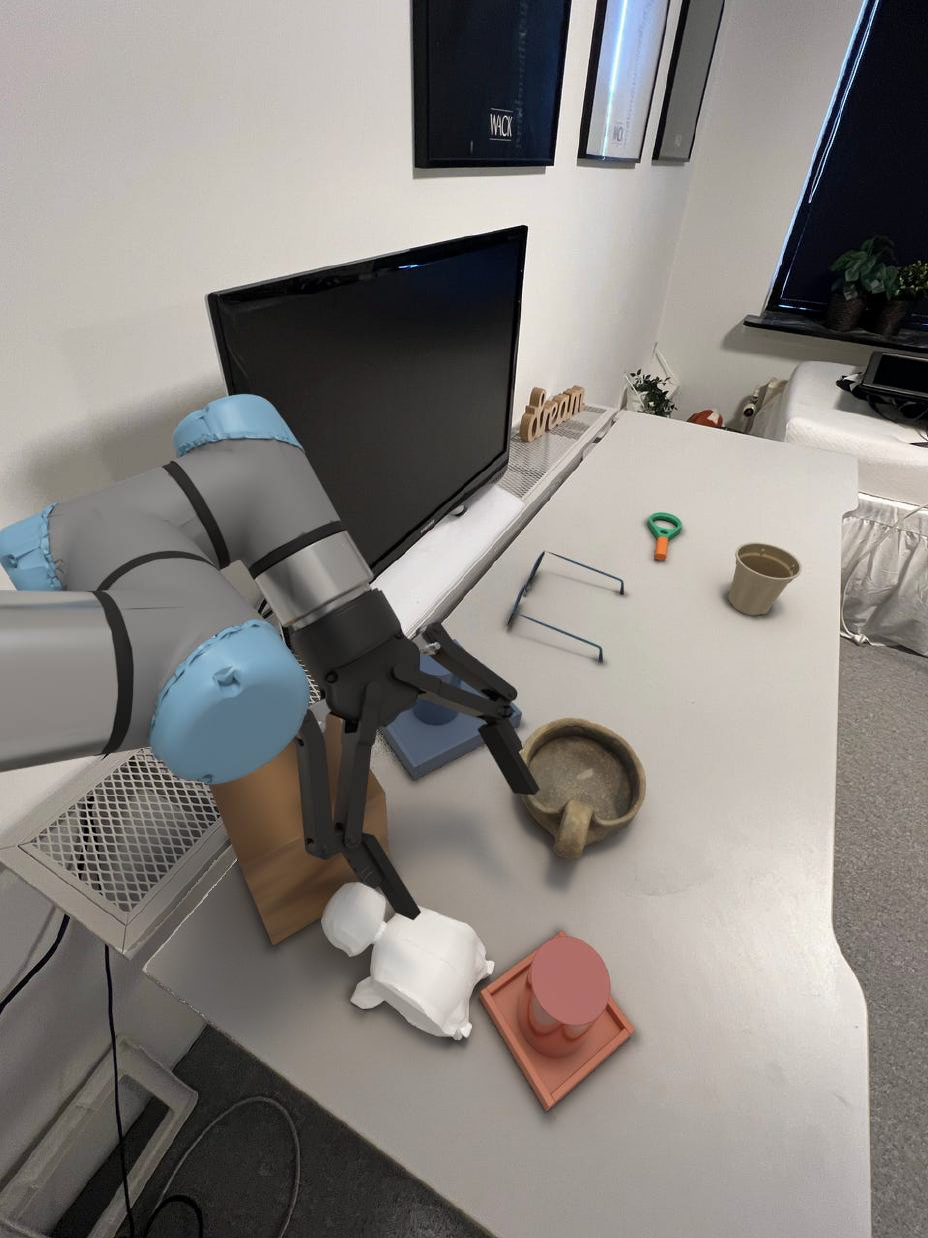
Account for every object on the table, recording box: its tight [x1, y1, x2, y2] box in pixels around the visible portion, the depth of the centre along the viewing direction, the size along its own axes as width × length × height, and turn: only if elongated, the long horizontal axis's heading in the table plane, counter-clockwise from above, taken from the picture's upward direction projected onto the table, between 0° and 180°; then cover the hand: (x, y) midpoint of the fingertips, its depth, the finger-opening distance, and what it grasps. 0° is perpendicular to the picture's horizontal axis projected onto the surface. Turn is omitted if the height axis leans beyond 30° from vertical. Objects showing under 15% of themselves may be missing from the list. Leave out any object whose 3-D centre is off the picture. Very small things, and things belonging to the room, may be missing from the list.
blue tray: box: [378, 638, 523, 781], centre depth 74 cm, size 15×15×2 cm
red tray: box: [478, 930, 636, 1113], centre depth 50 cm, size 9×9×2 cm
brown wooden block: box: [207, 713, 391, 946], centre depth 55 cm, size 12×12×15 cm
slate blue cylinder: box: [413, 652, 462, 725], centre depth 72 cm, size 6×6×9 cm
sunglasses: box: [506, 550, 625, 663], centre depth 90 cm, size 17×15×5 cm
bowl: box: [519, 717, 647, 861], centre depth 62 cm, size 14×18×10 cm
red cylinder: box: [517, 935, 611, 1058], centre depth 47 cm, size 6×6×9 cm
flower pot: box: [728, 541, 803, 617], centre depth 92 cm, size 9×9×9 cm
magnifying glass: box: [647, 511, 683, 561], centre depth 107 cm, size 15×6×2 cm, turn 162°
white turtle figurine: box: [320, 882, 496, 1041], centre depth 50 cm, size 9×8×15 cm
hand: (472, 847), depth 46 cm, fingers open, 13 cm apart
